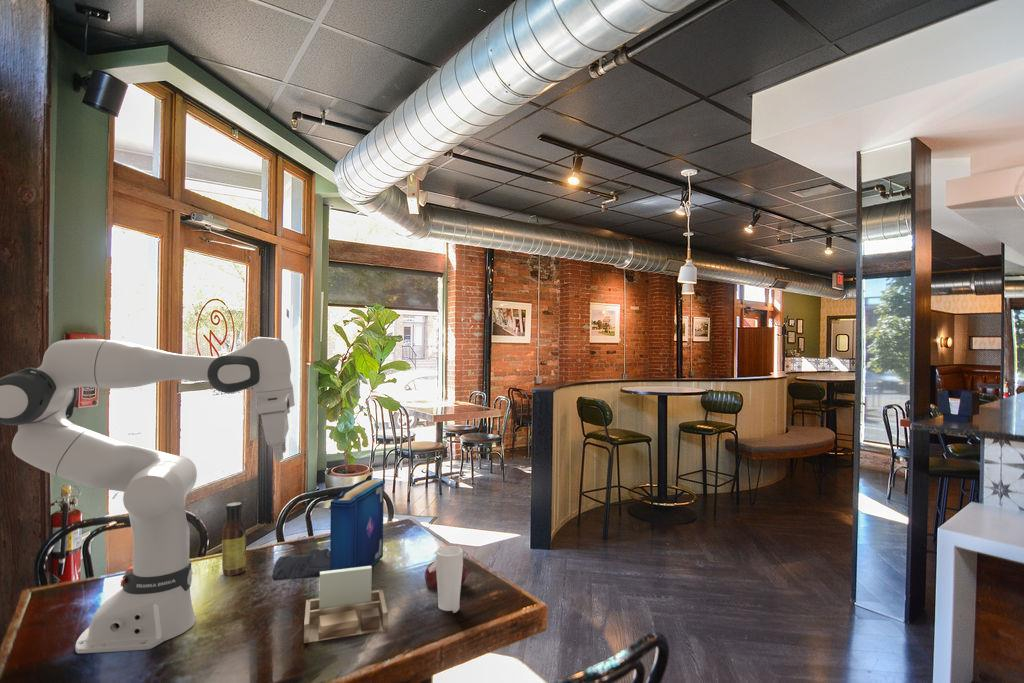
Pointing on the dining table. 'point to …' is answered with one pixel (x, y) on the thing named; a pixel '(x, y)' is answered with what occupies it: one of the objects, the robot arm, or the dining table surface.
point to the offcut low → (336, 633)
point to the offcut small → (370, 619)
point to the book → (357, 526)
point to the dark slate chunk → (302, 565)
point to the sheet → (345, 587)
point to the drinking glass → (449, 577)
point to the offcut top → (338, 621)
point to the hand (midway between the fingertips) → (280, 456)
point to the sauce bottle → (234, 541)
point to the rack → (314, 612)
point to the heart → (432, 577)
